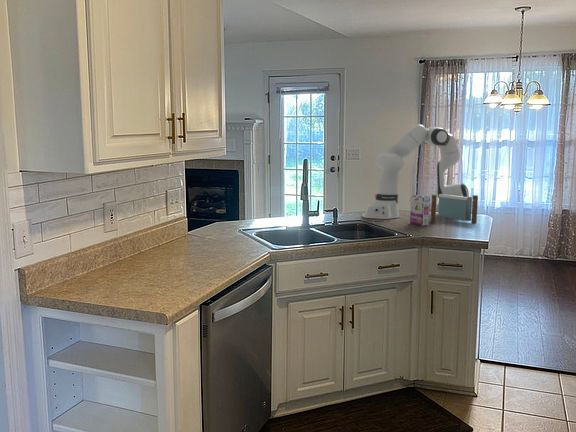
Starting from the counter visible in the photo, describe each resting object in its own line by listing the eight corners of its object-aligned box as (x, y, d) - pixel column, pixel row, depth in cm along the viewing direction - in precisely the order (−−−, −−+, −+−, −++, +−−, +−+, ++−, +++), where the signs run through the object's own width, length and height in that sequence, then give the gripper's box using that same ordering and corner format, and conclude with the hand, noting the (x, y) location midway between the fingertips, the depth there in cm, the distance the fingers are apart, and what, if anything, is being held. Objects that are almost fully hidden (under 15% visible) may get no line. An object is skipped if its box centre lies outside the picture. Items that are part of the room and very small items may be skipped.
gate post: (472, 223, 318) (473, 195, 316) (471, 222, 321) (472, 195, 319) (476, 223, 318) (478, 195, 315) (475, 222, 321) (477, 195, 318)
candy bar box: (429, 225, 311) (430, 196, 309) (422, 226, 309) (423, 197, 307) (416, 222, 321) (417, 194, 319) (409, 223, 319) (410, 194, 317)
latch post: (431, 222, 320) (432, 195, 318) (430, 222, 322) (431, 194, 320) (435, 223, 320) (436, 195, 317) (435, 222, 322) (436, 194, 320)
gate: (437, 215, 337) (438, 193, 335) (440, 215, 338) (441, 193, 336) (469, 220, 318) (470, 197, 316) (471, 220, 320) (472, 197, 317)
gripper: (440, 200, 350) (434, 202, 338) (473, 202, 339) (468, 205, 328) (439, 210, 351) (433, 213, 339) (473, 212, 340) (468, 215, 329)
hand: (451, 209), depth 333 cm, fingers closed
